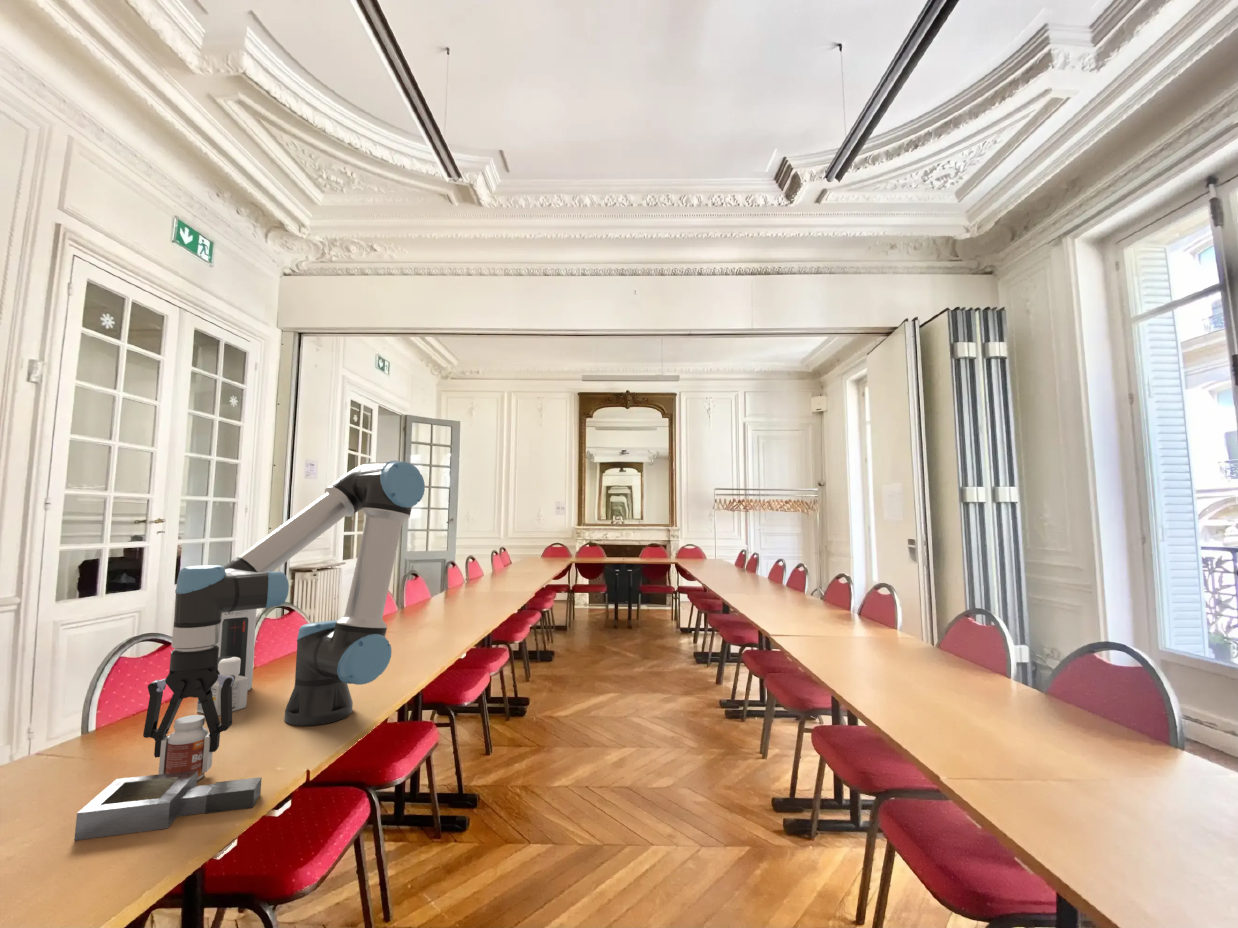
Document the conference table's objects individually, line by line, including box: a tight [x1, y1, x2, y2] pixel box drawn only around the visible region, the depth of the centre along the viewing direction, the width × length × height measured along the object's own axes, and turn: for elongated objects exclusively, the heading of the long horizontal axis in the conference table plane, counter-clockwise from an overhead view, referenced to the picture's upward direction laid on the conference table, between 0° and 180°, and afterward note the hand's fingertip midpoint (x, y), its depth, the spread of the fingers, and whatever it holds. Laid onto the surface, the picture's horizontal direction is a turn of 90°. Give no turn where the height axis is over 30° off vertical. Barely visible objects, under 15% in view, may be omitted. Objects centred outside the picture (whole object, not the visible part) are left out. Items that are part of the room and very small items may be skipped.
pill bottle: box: [165, 714, 209, 781], centre depth 109 cm, size 6×6×11 cm
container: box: [196, 656, 248, 717], centre depth 147 cm, size 8×8×13 cm
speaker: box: [216, 609, 257, 692], centre depth 163 cm, size 11×10×26 cm
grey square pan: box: [73, 770, 262, 841], centre depth 98 cm, size 23×12×4 cm, turn 109°
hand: (185, 771), depth 109 cm, fingers closed on pill bottle, 6 cm apart
